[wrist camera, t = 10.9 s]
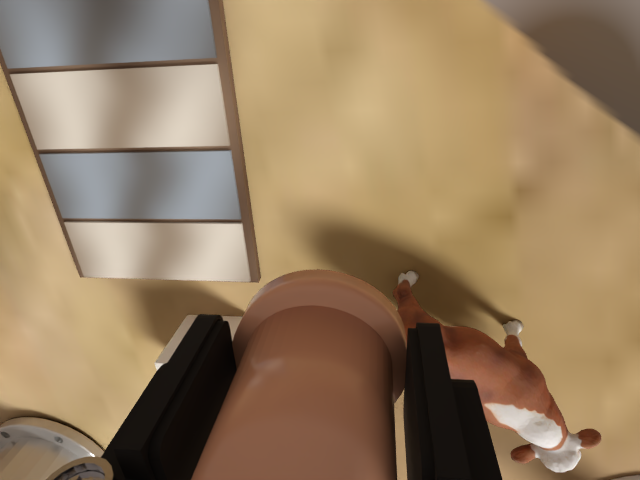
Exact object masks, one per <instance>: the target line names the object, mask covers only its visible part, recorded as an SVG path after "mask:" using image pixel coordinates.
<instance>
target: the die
mask: <svg viewBox="0 0 640 480" xmlns="http://www.w3.org/2000/svg"><path fill="white" fill-rule="evenodd" d="M197 316H198V315H187V316H186V317H185V319H184V320H183V322H182V323H181V325H180V326H179V328H178V329H177V331H176V332H175V334H174V335H173V337H172V338H171V340H170V341H169V343H168V344H167V345H166V347H165V348H164V350H163V351H162V353H161V354H160V356H159V357H158V359H157V360H156V362H155V366H156V369H157V370H158V369H159V368H160V367H161V365H163V364H165V363H167V362H168V361H169V359H170V358H171V356H172V355H173V353H174V351H175V350H176V348H177V347H178V345H179V344H180V342H181V340H182V339H183V337H184V336H185V334H186V333H187V331H188V329H189V328H190V326H191V325H192V323H193V322H194V320H195V318H196V317H197ZM221 317H222V318H223V321H228V323H229V326H230V331H231V336H232V342H233V338H234V335H235V332H236V330H237V328H238V326H239V323H240V321H241V319H242V317H243V316H221Z"/></svg>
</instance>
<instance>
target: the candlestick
mask: <svg viewBox="0 0 640 480" xmlns="http://www.w3.org/2000/svg"><path fill="white" fill-rule="evenodd" d="M612 480H640V475H634V476H626V477H620V478H616V479H612Z"/></svg>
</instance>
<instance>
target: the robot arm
mask: <svg viewBox="0 0 640 480" xmlns="http://www.w3.org/2000/svg"><path fill="white" fill-rule="evenodd" d="M232 343H233V342H232V336H231V331H230V326H229V323H228V321H223V318H222V317H221V316H220V315H205V314H200V315H198V316H197V317H196V318H195V320H194V322H193V323H192V325H191V326H190V328H189V329H188V331H187V333H186V334H185V336H184V337H183V339H182V340H181V342H180V344H179V345H178V347H177V348H176V350H175V351H174V353H173V355H172V356H171V358H170V359H169V361H168V362H167V363H165V364H163V365H161V367H160V368H159V369H158V370H157V372H156V373H155V375H154V376H153V378H152V379H151V381H150V382H149V384H148V386H147V387H146V389H145V390H144V392H143V393H142V395H141V396H140V398H139V399H138V401H137V402H136V404H135V405H134V407H133V409H132V410H131V412H130V413H129V415H128V416H127V418H126V419H125V421H124V422H123V424H122V425H121V427H120V428H119V430H118V432H117V433H116V435H115V436H114V438H113V439H112V441H111V442H110V444H109V445H108V447H107V448H106V450H105V452H104V451H103V450H102V449H101V448H100V447H99V446H98V445H97V444H95V443H94V442H93V441H92V440H90V439H89V438H88V437H86V436H85V435H83V434H82V433H80V432H78V431H76V430H74V429H72V428H70V427H68V426H65V425H63V424H60V423H58V422H54V421H51V420H47V419H42V418H35V417H21V418H15V419H11V420H8V421H6V422H4V423H3V424H2V425H0V480H191V478H192V476H193V473H194V471H195V469H196V466H197V464H198V461H199V459H200V457H201V454H202V452H203V449H204V447H205V445H206V442H207V440H208V437H209V435H210V433H211V430H212V428H213V426H214V423H215V421H216V418H217V416H218V414H219V411H220V409H221V406H222V404H223V402H224V399H225V397H226V394H227V392H228V390H229V387H230V385H231V382H232V380H233V378H234V375H235V373H236V370H237V368H236V362H235V357H234V351H233V346H232ZM404 431H405V447H406V463H407V480H502V476H501V473H500V469H499V465H498V462H497V458H496V454H495V451H494V447H493V443H492V440H491V436H490V432H489V429H488V425H487V421H486V417H485V414H484V410H483V406H482V403H481V399H480V395H479V392H478V388H477V385H476V383H475V381H474V380H464V379H451V376H450V372H449V367H448V362H447V357H446V352H445V347H444V342H443V337H442V332H441V327H440V324H439V323H419V322H417V323H416V328H408V333H407V354H406V373H405V389H404Z"/></svg>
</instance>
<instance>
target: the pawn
mask: <svg viewBox="0 0 640 480" xmlns="http://www.w3.org/2000/svg"><path fill="white" fill-rule="evenodd" d="M232 346H233V351H234V357H235V362H236V368H237V370H236V373H235V375H234V378H233V380H232V382H231V385H230V387H229V390H228V392H227V394H226V397H225V399H224V402H223V404H222V406H221V409H220V411H219V414H218V416H217V418H216V421H215V423H214V426H213V428H212V430H211V433H210V435H209V437H208V440H207V442H206V445H205V447H204V449H203V452H202V454H201V457H200V459H199V461H198V464H197V466H196V469H195V471H194V473H193V476H192V478H191V480H397V465H396V441H395V417H394V403H395V402H396V400H397V399H398V398H399V397H400V395H401V393H402V392H403V390H404V388H405V373H406V354H407V340H406V332H405V328H404V324H403V322H402V319H401V317H400V315H399V313H398V311H397V310H396V308H395V307H394V305H393V304H392V303H391V302H390V300H389V299H388V298H387V297H386V296H385V295H384V294H382V293H381V292H380V291H379V290H377V289H376V288H375V287H373V286H372V285H370V284H368V283H367V282H365V281H363V280H361V279H358V278H356V277H354V276H351V275H348V274H345V273H341V272H336V271H331V270H319V269H317V270H303V271H296V272H292V273H289V274H285V275H283V276H281V277H278V278H276V279H274V280H273V281H271V282H269V283H268V284H266V285H265V286H264V287H263V288H261V289H260V290H259V291H258V292H257V293H256V294H255V296H254V297H253V298H252V300H251V301H250V303H249V304H248V307H247V309H246V311H245V313H244V315H243V317H242V319H241V321H240V323H239V326H238V328H237V330H236V332H235V335H234V338H233V343H232Z"/></svg>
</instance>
